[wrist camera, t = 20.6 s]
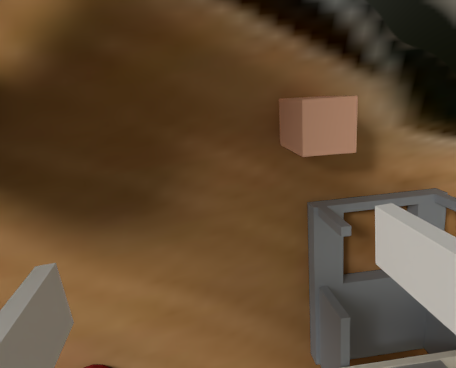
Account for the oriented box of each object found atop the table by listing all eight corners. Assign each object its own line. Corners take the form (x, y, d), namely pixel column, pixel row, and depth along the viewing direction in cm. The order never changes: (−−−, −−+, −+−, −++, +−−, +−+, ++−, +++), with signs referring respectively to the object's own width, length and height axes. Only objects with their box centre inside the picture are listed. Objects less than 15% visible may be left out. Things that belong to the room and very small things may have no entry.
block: (278, 98, 38) (302, 99, 30) (323, 95, 38) (357, 95, 31) (280, 144, 39) (302, 156, 31) (323, 141, 40) (356, 152, 32)
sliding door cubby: (307, 202, 41) (336, 227, 33) (435, 188, 42) (492, 209, 35) (310, 353, 46) (336, 406, 38) (424, 336, 48) (471, 384, 40)
